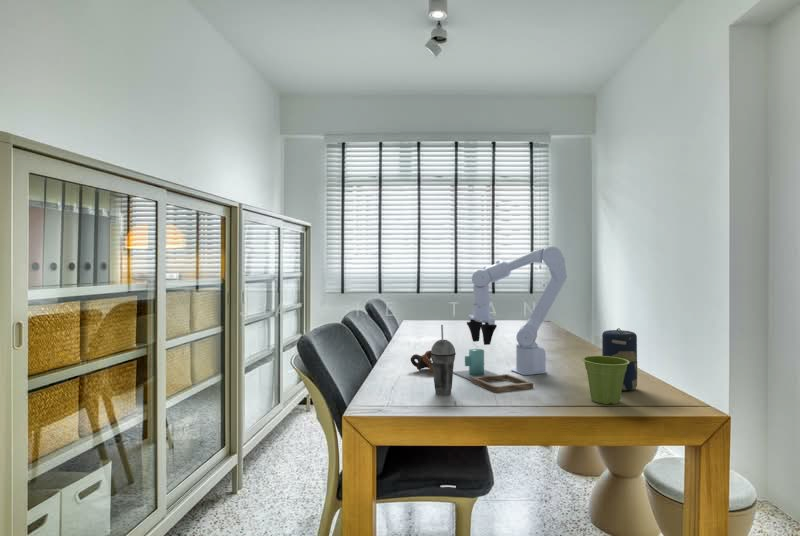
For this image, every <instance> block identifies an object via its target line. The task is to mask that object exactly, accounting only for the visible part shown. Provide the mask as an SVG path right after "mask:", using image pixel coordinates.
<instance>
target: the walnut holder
mask: <svg viewBox="0 0 800 536" xmlns="http://www.w3.org/2000/svg"><path fill="white" fill-rule="evenodd" d="M497 381H509V382H510V383H511V382H512V384H503V385H501V384H500V385H494V384H492V383H490V382H497ZM471 383H472V384H475V385H477V386H478V387H481V388H484V389H486V390H488V391H491V392H493V393H502V392H503V393H504V392H510V391H511V392H512V391H519V390H528V389H534V382H531V381H529V380H526V379H522V378H521V377H517V376H514V375H512V374H509V373H505V374H504V373H503V374H498V375H493V376H484V377H474V378H472V381H471Z"/></svg>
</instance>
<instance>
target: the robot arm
mask: <svg viewBox="0 0 800 536" xmlns="http://www.w3.org/2000/svg"><path fill="white" fill-rule="evenodd" d="M543 262H544V264H545V266H546V267H547V268H548V271H549V273H550V276H551V278H550V280H549V281H548V283H547V285H546V286H545V288H544V291H543V293H542V294H541V296H540V298H539V299H538V301H537V303H536V305H535V307H534V308H533V311H532V313H531V314H530V316H529V318H528V320H527V322H526V323H525V324H524V325H523V326H522V327H520V329H519V330H518V332H517V334H516V338H515V339H516V342H517V344H515V347H516V348H515V351H516V352H515V354H516V355H515V357H516V358H515V360H516V361H515V362H516V363H515V364H516V367H515V368H512V369H510V371H511V372H514V373H517V374H520V375H523V376H529V375H539V374H547V373H548V371H547V369H546V368H547V367H546V366H547V365H546V363H547V361H546V360H547V358H546V355H547V354H546V350H545V349H544V347H543V346H541V345H539V344H538V343H536V340H537V338H538V331H539V329H540V327H541V326H542V323H543V321H544V320H545V319H546V316H547V314H548V312H549V311H550V309H551V307H552V305H553V304H554V302H555V300H556V298H557V296H558V294H559V293H560V291H561V290H562V287H563V286H564V284H565V282H566V281H567V277H568V276H567V267H566V261H565V257H564V255H563V253H562V251H561V249H560V248H558V247H557V246H553V245H552V246H547V247H546V248H541V249H537V250H534V251H531V252H528V253H526V254H523V255H522V256H519V257H517V258H516V259H513V260H511V261H509V262H507V261H504V260H501V261H500V260H496V261H495V263H494V264H491V265H489V266H487V267H486V266H483V267H482V269H483V270H482V269H478V270H476V271H475V272H474V273H473V274H472V276H471V282H472V283H473V287H472V289H473V291H472V314H469V315H468V321H466V325H467V326H468V329H469V332H470V335H471V340H472V342H480V337H481V335H480V334H481V333H482V340H483V345H484V346H486V345H488V346H489V345H491V344H492V343H491V342H492V338H493V335H494V332H495V331H496V328H497V327H498V325H497V324H496V319H495V318H493V317H491V316H490V285H489V284H490V283H493V284H494V283H495V282H497V281H498V282H499V281H500V280H502V279H504V278H507V277H508V278H509V276H510V275H511V273H512V271H514V270H518V269H519V268H522V267H526V266H527V265H530V264H533V263H538V264H542V263H543Z"/></svg>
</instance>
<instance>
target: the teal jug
mask: <svg viewBox="0 0 800 536" xmlns="http://www.w3.org/2000/svg"><path fill="white" fill-rule="evenodd" d="M464 366H465V367H468V370H469V374H470V375H474V376H481V375H484V370H485V349H481V348H470V349H468V355H465V356H464Z"/></svg>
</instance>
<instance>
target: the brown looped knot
mask: <svg viewBox="0 0 800 536" xmlns="http://www.w3.org/2000/svg"><path fill="white" fill-rule="evenodd" d="M416 360H417V361H416ZM410 361H411V362H410V363H411V365H412V366H413V367H416V370H418V371H421V370H423V369H426V368H427V369H429V370H428V374H430V375H434V374H433V363H432V359H431V350H427V351H426V352H425V353H424V354H422V355H420V354H418V353H417V354H416V353H415V354H413V355H412V356H411V357H410Z"/></svg>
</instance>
